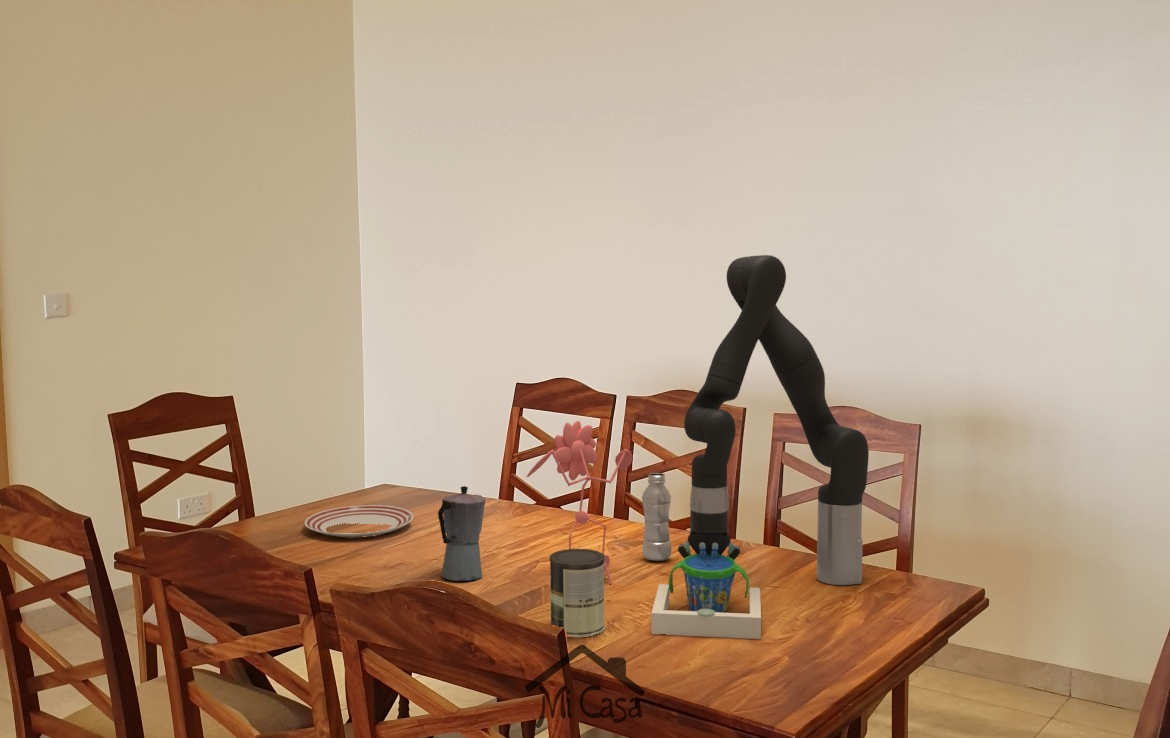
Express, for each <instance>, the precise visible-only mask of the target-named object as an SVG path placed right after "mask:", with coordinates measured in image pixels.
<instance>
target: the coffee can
mask: <svg viewBox="0 0 1170 738" xmlns="http://www.w3.org/2000/svg"><path fill="white" fill-rule="evenodd" d="M604 555H605V553H604V554H602V551H601V552H600V551H598V550H595V549H588V548H571V549H569V548H568V549H562V550H559V551H554V552H552V553H550V555H549V563H550V565H549V566H550V568H549V569H550V576H549V577H550V578H549V579H550V626H551V625H555V626H558V627H563V628H564V629H565V630H566V633H567V637H566V638H567V639H568V634H569V635H570V636H574V637H584V636H592V635H595V634H598V635H600V634H602V633H603V632H604V631H603V630H605V628H606V627H605V571H604V560H605V556H604ZM601 632H602V633H601ZM599 633H600V634H599ZM595 636H596V635H595ZM592 637H593V636H592Z"/></svg>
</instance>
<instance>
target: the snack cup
mask: <svg viewBox="0 0 1170 738" xmlns="http://www.w3.org/2000/svg"><path fill="white" fill-rule="evenodd" d="M678 568H680V569H681V570H682V571H683V576H684V581H685V589H686V596H687V604H688V609H689V611H696V612H697V611H698V610H700V609H711V610H714V611H715V612H719V613H728V608H729V605H730V604H729V603H730V598H731V593H732V586H733V583H734V578H735V576H736V572H738V573H740V574H741V576H742V577H743V579H744V581H745V582H746V583H745V584H746V587H745V592H744V599H747V598H748V593H749V591H750V579H749V577H748V576H749V575H748V573H747V572H746V570H745V569H744V568H743V566H741V565H740V564H737V562H736V561H735V560H733V559H732V558H730V557H727V555H724V554H722V555H720V554H718V555H717V556H711V555H710V554H706V556H702V555H700V554H696V553H695V554H692V555H690V556H687V557H685V558H683V559H682V560H680V561H678V562H677V563H675V564H674V566H673V567H672V568H671V570H670V573H669V576H668V584H669V594H674V583H673V582H674V581H673V579H674V578H673V573H674V571H675V570H676V569H678Z"/></svg>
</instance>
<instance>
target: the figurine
mask: <svg viewBox="0 0 1170 738" xmlns="http://www.w3.org/2000/svg"><path fill="white" fill-rule="evenodd" d="M593 431H594V428H593V426H592V425H590V424H588V425H583V427H582V424H581V421H580V420H576V421H574V423H572V425H571V423H569V422H565V424H564V426H563V429H562V435H559V434H556V435H555V436H554V445H555V447H556V450H554V449H551V450H550V451H548V452H547V453H546V454H545V455H543V456H542V457H541V458H540V459H539V460H537V462H536V463H535V464H534V465H533V467H532V468H531V469H530V470H529V472H528V474H527V475H526V477H527V478H529V477H530V476H531V475H533V474H534V473H535V472H537V471H538V470H539V469H540V468H541V467H542V466H543V465H545V463H546V462H547V461H548V460H549V458H550V457H551V456H552V457H553V458H554V461H555V463H556V465H557V467H556V472H557V474H561V475H562V477H563V479H564V480H565V483H566V484H567V486H568V487H569V486H573V485H575V484H578V483H580V482H584V483H583V484H582V486H581V493H580V501H579V502H580V503H579V509H578V510H579V511H577V512H576V514H575V515H574V516H575V517H574V518H575V521H574V523H573V526H572V529H571V530H570V532H569V535H568V549H572V548H571V546H572V545H571V544H572V537H571V536H572V534H573V532H574V530H575V527H576V525H577V523H578V524H580V525H583V524H585V523H587V522H588V521H589V522H591V523H594V524H597V525H599V526H602V527H603V535H602V536H603V537H602V550H601V553H602V554H604V556H605V560H604V572H606V575H607V579H608V582H609V584H610V585H613V584H614V583H613V580H612V577H611V575H610V571H609V565H610V562H611V558H610V557H609V555H608V554H605V544H606V543H605V542H606V529H607V527H606V525H605V524H604V523H601V522H599V521H596V520H593V519H591V518H589V515H588V513H587V512H586V511H584V510H582V507H583V501H584V495H585V487H586V485H587V483H588V482H590V481H591V480H594V481H598V482H602V483H603V482H604V483H609V484H612V482H614V479H615V477H616V475H617V473H618V471H619V470H621V471H624V470H625V469H626V468H628V467H629V466H630V465H632V462H633V454H632V452H631V451H630V450H628V449H627V448H624V449H623V450H621V451H620V452H618V453H617V455H616V456H615V458H614V462H615V465H616V467H615V470H614V472H613V473H612V476H611V477H610V479H609V480H608V479H605V478H604V479H603V478H599V477H596V476H595V477H593V476H591V475H590V473H589V470H588V465H589V464H592V465H593V464H596V463H597V462H598V455H597V452H596V451H595V447H596V446H597V441H595V439H594V438H593V437H592V435H593ZM566 473H568V477H569V479H570V480H571V482H570V481H569V479H568V478H567V475H566ZM579 476H580V477H583V478H579V479H577V478H578V477H579ZM584 476H585V477H584ZM576 479H577V480H576ZM544 577H545V578H547V577H551V576H550V574H547V575H545V576H544ZM544 577H541V578H539V579H537V580H535V581H534V583H533V584H532V586H534V585H535V584H536V583H537V582H538V581H540V580H542V579H544ZM630 577H631V578H632V579H635V577H633V576H630ZM630 577H629V578H630Z"/></svg>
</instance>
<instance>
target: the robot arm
mask: <svg viewBox="0 0 1170 738" xmlns="http://www.w3.org/2000/svg"><path fill="white" fill-rule="evenodd" d="M786 281H787V273H786V268H785V265H784V264H783V262H782V261H781V260H780V259H779V258H778V257H776V256H774V255H768V254H762V255H760V254H759V255H748V256H742V257H738V258H736V259H734V260H732V261H731V263H730V264H729V266H728V268H727V270H726V283H727V288H728V290H729V292H730V294H731V296H732V297H733V299H734V301H735V302H736V304H737V306H738V307H739V308H740V310H741V312H740V314H739V316H738V317H737V320H736V321H735V323H734V324H733V326H732V327H731V329H730V330H729V331H728V333H727V334H726V335H725V337H724V338H723V339H722V341H721V343H720V344H719V345H718V347H717V349H716V351H715V353H714V355H713V358H712V361H711V363H710V366H709V369H708V372H707V375H706V379H705V382H704V384H703V385H702V387H701V388H700V389H699V391H698V392H697V394H696V396H695V398H693V401H692V402H691V404H690V405H689V407H688V409H687V411H686V413H685V416H684V422H683V425H684V426H683V428H684V432H685V434H686V435H687V437H688V438H689V439H690V440H692V441H694V442H699V443H704V444H706V447H705V451H704V453H702V454H698V455H696V456H695V457H693V459H692V461H691V462H692V463H691V488H690V495H689V497H690V501H689V507H690V508H689V510H690V511H689V512H690V513H689V514H690V521H689V522H690V523H689V524H690V525H689V527H690V528H689V529H690V530H689V531H690V533H689V534H688V537H687V540H685V542H683V543H679V545H678V547H677V551H678V553H679V555H681V557H682V558H683V559H684V558H685V557H687V556H690V555H693V554H692V553H691V551H692V549H693V551H694V552H695V554H700V555H702V556H706V554H710V555H711V556H717V555H718V554H720V555H723V553H724V552H725V551H726V550H727V555H726V556H727V557H730V558H732V559H733V560H734V561H735V560H736V559H737V557H738V556H739V555H740V554H741V546H740V545H736V544H735V543H733V542H732V541H731V537H730V535H729V507H730V506H729V492H728V464H729V460H730V457H731V452H732V449H733V446H734V442H735V438H736V434H737V433H736V431H737V430H736V429H737V427H736V423H735V419H734V417H733V416H732V414H731V413H730V412H729V411H727V410H724V409H720V408H721V406H722V405H723V404H724V403H726V402H730V401H733V400H736V399H737V398H738V395H739V394H740V390H741V387H742V384H743V381H744V378H745V376H746V375H745V374H746V373H747V369H748V367H749V364H750V360H751V359H752V355H753V353H754V350H755V348H756V345H757V343H758V342H759V343H760V344H761V346H762V348H763V351H764V352H765V354H766V356H767V357H768V360H769V362H770V364H771V366H772V369H773V371H774V372H775V374H776V377H777V378H778V381H779V383H780V385H781V386H782V388H783V390H784V391H785V393H786V395H787V398H788V399H789V402H790V403H791V406H792V407H793V409H794V410H795V411H794V412H795V413H796V415H797V417H798V419H799V421H800V424H801V427H802V429H803V432H804V435H805V437H806V440H807V443H808V445H809V448H810V451H811V453H812V455H813V457H814V458H815V459H816V461H817V462H818V463H820V464H821V465H822V466H824V467H827V468H830V475H829V481H828V483H826V484H823V485H821V486H820V487H819V488H818V490H817V491H818V492H817V527H816V528H817V529H816V530H817V531H816V532H817V536H816V537H817V538H816V544H817V545H816V579H817V580H818V581H820V582H821V583H824V584H828V585H832V586H833V585H834V586H853V585H858V584H859V585H861V584H862V583H863V582H862V581H863V544H864V543H863V538H862V527H863V524H862V522H863V519H862V518H863V496H864V493H865V492H866V491H865V490H866V488H867V483H868V481H867V480H868V472H869V470H868V469H869V468H868V467H869V444H868V441H867V438H866V436H865V435H864V433H862V432H861V431H859V430H857V429H855V428H850V427H846V426H842V425H840V424H839V422H838V421H837V420H836V419H835V417H834V415H833V414H832V412H831V409H830V407H829V405H828V403H827V400H826V393H825V392H826V391H825V390H826V378H825V377H826V376H825V371H824V368H823V365H822V363H821V361H820V358H819V357H818V354H817V353H816V350H815V349H814V346H813V345H812V343H811V342H810V340H809V339H808V338H807V337H806V336H805V335H804V334H803V332H802V331H800V329H798V328H797V327H796V326H795V325H794V324H793V323H792V322H791V321H790V320H789V319H788V318H787V317H786V316H785V315H784V314H783V313H782V312H781V310H780V309H779V308H778V306H777V303H778V301H779V299H780V298H781V295H782V293H783V292H784V288H785V285H786ZM727 548H728V549H727Z"/></svg>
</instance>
